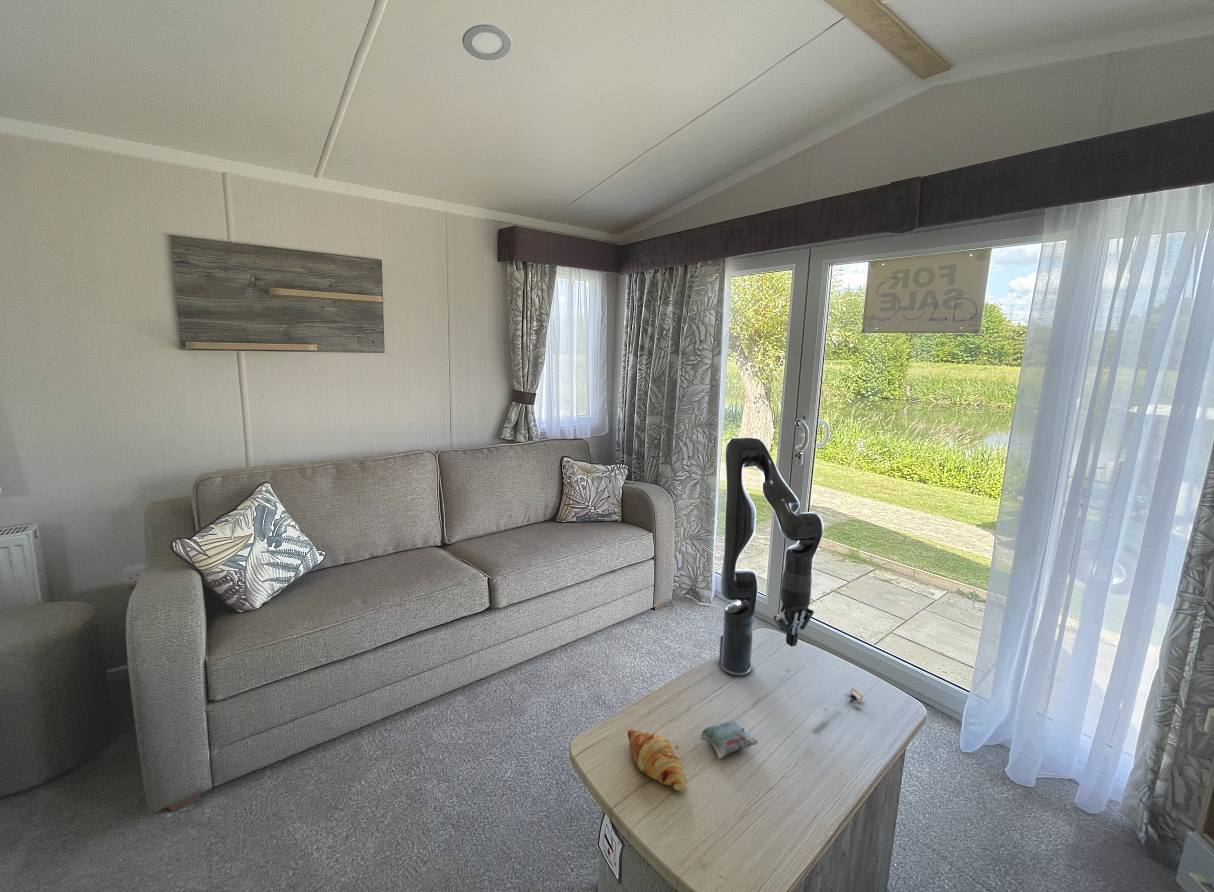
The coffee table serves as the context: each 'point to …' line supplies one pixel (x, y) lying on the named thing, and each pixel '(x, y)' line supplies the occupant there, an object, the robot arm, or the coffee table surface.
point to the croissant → (656, 759)
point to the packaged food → (727, 738)
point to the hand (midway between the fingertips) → (791, 644)
